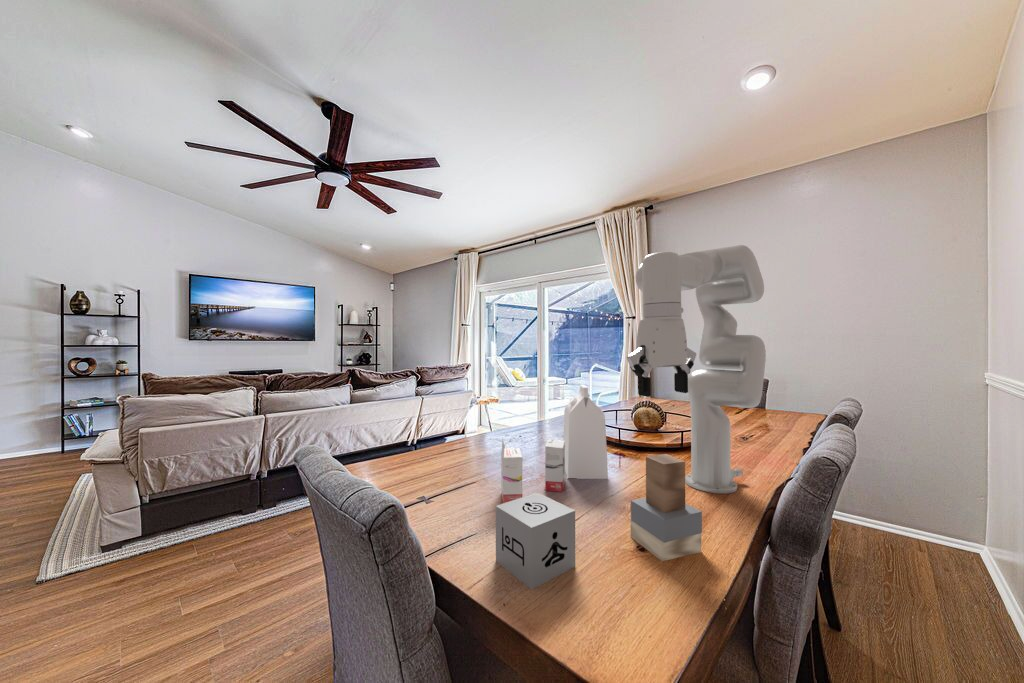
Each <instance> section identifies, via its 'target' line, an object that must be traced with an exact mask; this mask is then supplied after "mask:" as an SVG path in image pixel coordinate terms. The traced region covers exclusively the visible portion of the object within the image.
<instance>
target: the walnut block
mask: <svg viewBox="0 0 1024 683" xmlns="http://www.w3.org/2000/svg"><path fill="white" fill-rule="evenodd" d="M685 477H686V461H685V460H683V459H680V458H677V457H676V456H672V455H670V454H668V453H665V454H656V455H655V454H654V455H647V456H645V498H646V502H647V503H649V504H650V505H652V506H654V507H655V508H657V509H658V510H660V511H662V512H663V513H666V512H671V511H676V510H681V509H685V503H686V482H685Z"/></svg>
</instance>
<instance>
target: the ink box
mask: <svg viewBox="0 0 1024 683" xmlns="http://www.w3.org/2000/svg"><path fill="white" fill-rule="evenodd" d="M544 447H545V448H544V449H545V454H544V455H545V458H544V461H545V462H544V464H545V468H544V469H545V470H544V471H545V472H544V474H545V476H544V477H545V480H544V481H545V482H544V484H545V488H544V490H545V492H555V491H557V493H563V492H564V488H565V482H566V475H565V474H566V472H565V441H564V439H563V440H559V439H553V438H552V439H551V438H549V439H547V441H546V443H545V445H544Z"/></svg>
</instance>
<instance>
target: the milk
mask: <svg viewBox="0 0 1024 683" xmlns="http://www.w3.org/2000/svg"><path fill="white" fill-rule="evenodd" d="M563 411H564V412H563V414H564V416H563V441H565V474H566V475H565V476H566V477H568V478H577V479H576V480H579V479H580V480H581V479H582V480H583V479H584V480H586V479H587V480H588V479H590V480H595V479H598V480H599V479H601V480H602V479H603V480H604V479H605V480H608V479H609V472H608V450H607V449H608V447H607V430H606V427H607V426H606V415H605V412H604V410H602V409H601V408H600V407H599V406H598V405H597V404H596V403H595V402H594V401H593V400H592V399H591V398H590V397H589V387H588V386H587V385H585V384H580V385H579V392H578V394H577V395H576V396H574V397H572V398H571V399H570V401H569V402H568V404H566V406H565V407H564V410H563ZM568 478H567V479H568Z"/></svg>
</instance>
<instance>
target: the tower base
mask: <svg viewBox="0 0 1024 683" xmlns="http://www.w3.org/2000/svg"><path fill="white" fill-rule="evenodd" d="M630 538H632V539H633V540H634V541H636V543H638V544H639V545H640V546H642V547H643V548H645V549H646V550H647V551H648V552H649V553H651V554H652V555H653V556H654V557H656V558H657V559H658V560H660V561H661V562H664V561H668V560H674V559H677V558H681V557H686V556H690V555H694V554H699V553H702V533H700V534H696V535H692V536H688V537H685V538H681V539H677V540H673V541H669V542H665V543H664V542H663V541H661V540H660V539H658V538H657V537H655V536H654V535H652V534H651V533H649V532H648V531H646V530H645V529H643V528H642V527H640V526H639V525H637V524H636V523H634V522H633V521H631V520H630Z"/></svg>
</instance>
